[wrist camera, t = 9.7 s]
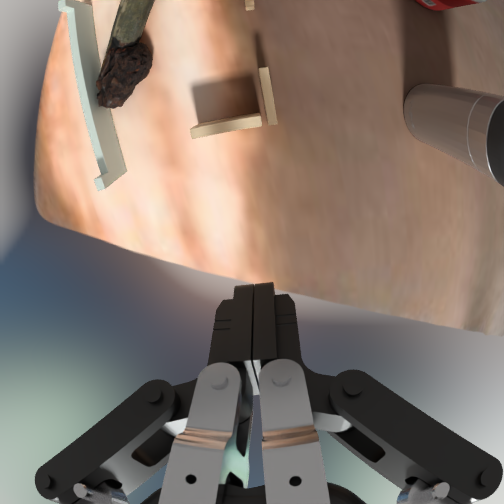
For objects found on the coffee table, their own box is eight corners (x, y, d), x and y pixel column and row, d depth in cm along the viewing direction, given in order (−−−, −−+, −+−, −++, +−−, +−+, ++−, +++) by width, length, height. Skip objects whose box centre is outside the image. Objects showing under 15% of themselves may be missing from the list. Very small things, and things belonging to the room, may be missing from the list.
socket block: (245, -29, 20) (243, -44, 16) (274, 119, 32) (277, 124, 28) (171, -13, 21) (159, -25, 17) (200, 132, 33) (192, 139, 29)
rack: (91, 5, 21) (65, -3, 15) (127, 171, 36) (105, 188, 30) (85, 9, 21) (58, 2, 15) (120, 173, 36) (97, 191, 30)
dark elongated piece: (132, -7, 21) (115, -18, 17) (177, -8, 22) (165, -21, 18) (104, 105, 31) (83, 109, 26) (145, 109, 32) (129, 113, 27)
